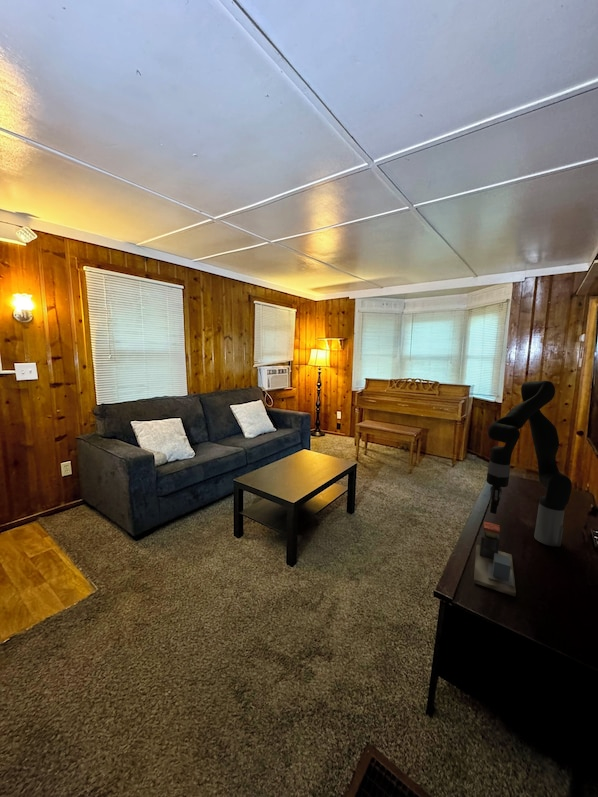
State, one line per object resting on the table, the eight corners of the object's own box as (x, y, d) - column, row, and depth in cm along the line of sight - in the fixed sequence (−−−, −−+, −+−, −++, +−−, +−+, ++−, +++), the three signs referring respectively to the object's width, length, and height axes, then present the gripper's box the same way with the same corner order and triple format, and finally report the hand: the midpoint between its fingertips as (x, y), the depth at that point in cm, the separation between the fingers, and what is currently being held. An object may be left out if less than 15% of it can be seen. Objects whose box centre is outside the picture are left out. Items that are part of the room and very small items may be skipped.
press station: (511, 557, 135) (514, 535, 133) (515, 596, 113) (519, 571, 112) (475, 547, 141) (478, 526, 140) (473, 582, 120) (476, 558, 118)
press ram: (497, 540, 135) (499, 525, 133) (497, 547, 130) (499, 531, 129) (482, 536, 137) (483, 521, 136) (481, 543, 133) (483, 527, 131)
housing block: (507, 571, 123) (509, 557, 122) (508, 580, 118) (510, 566, 117) (492, 566, 126) (494, 552, 125) (492, 575, 121) (494, 561, 120)
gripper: (487, 465, 136) (482, 503, 139) (487, 476, 125) (482, 517, 128) (508, 469, 133) (503, 508, 135) (510, 480, 121) (504, 522, 124)
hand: (493, 512), depth 132 cm, fingers closed
